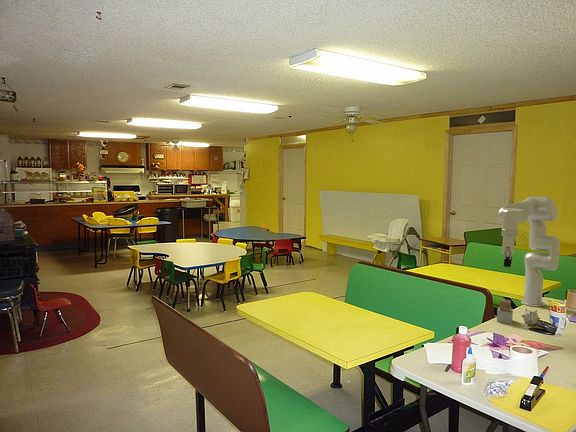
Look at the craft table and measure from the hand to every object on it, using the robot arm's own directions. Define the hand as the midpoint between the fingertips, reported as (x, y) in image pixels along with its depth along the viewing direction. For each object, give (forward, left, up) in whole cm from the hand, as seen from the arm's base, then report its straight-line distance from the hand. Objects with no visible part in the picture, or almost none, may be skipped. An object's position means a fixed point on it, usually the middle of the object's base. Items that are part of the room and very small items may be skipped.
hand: (507, 265), depth 223 cm
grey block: (0, 0, -30) cm, 30 cm away
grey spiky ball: (0, +12, -31) cm, 33 cm away
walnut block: (0, 0, -24) cm, 24 cm away
